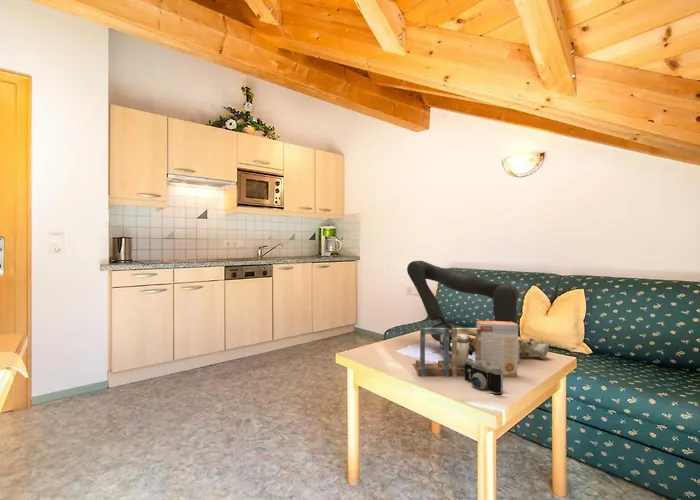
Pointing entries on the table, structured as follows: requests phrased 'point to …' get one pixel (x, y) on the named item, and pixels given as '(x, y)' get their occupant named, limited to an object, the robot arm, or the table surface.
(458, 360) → the white cylinder
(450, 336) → the robot arm
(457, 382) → the table surface
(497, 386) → the camera
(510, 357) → the cracker box
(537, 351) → the ceramic sculpture
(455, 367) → the wooden rack
